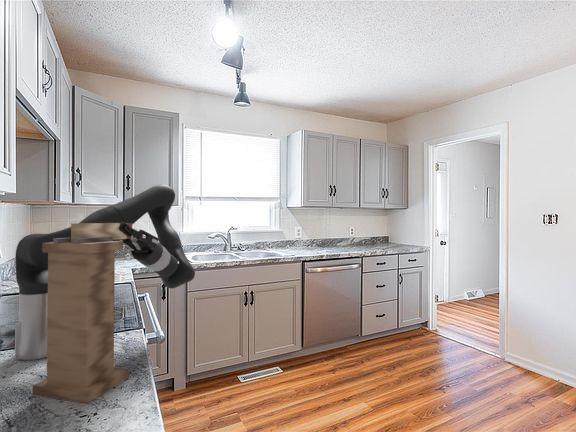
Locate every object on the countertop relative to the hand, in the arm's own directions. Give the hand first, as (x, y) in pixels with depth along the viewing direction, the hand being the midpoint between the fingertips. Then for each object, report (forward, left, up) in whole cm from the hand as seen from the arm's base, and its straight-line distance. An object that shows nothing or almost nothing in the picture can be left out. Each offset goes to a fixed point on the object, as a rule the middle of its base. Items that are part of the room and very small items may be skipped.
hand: (115, 225), depth 86 cm
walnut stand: (-5, -8, -36) cm, 37 cm away
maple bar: (-2, -3, -3) cm, 5 cm away
